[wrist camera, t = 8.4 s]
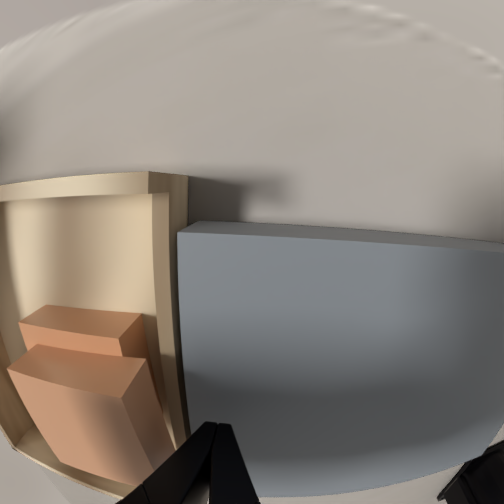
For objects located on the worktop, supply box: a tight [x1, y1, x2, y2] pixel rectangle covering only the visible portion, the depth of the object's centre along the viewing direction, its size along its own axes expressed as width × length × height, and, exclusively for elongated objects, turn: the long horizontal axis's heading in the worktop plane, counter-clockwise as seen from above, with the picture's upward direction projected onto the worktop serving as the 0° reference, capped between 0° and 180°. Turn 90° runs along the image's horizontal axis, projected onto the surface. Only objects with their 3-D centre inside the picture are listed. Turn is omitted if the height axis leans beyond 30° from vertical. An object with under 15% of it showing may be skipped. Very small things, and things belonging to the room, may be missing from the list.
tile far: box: [18, 304, 163, 414], centre depth 10 cm, size 5×5×2 cm
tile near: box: [7, 344, 176, 486], centre depth 8 cm, size 5×5×2 cm
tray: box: [0, 171, 191, 499], centre depth 10 cm, size 12×15×4 cm
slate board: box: [177, 221, 504, 497], centre depth 10 cm, size 16×12×2 cm
